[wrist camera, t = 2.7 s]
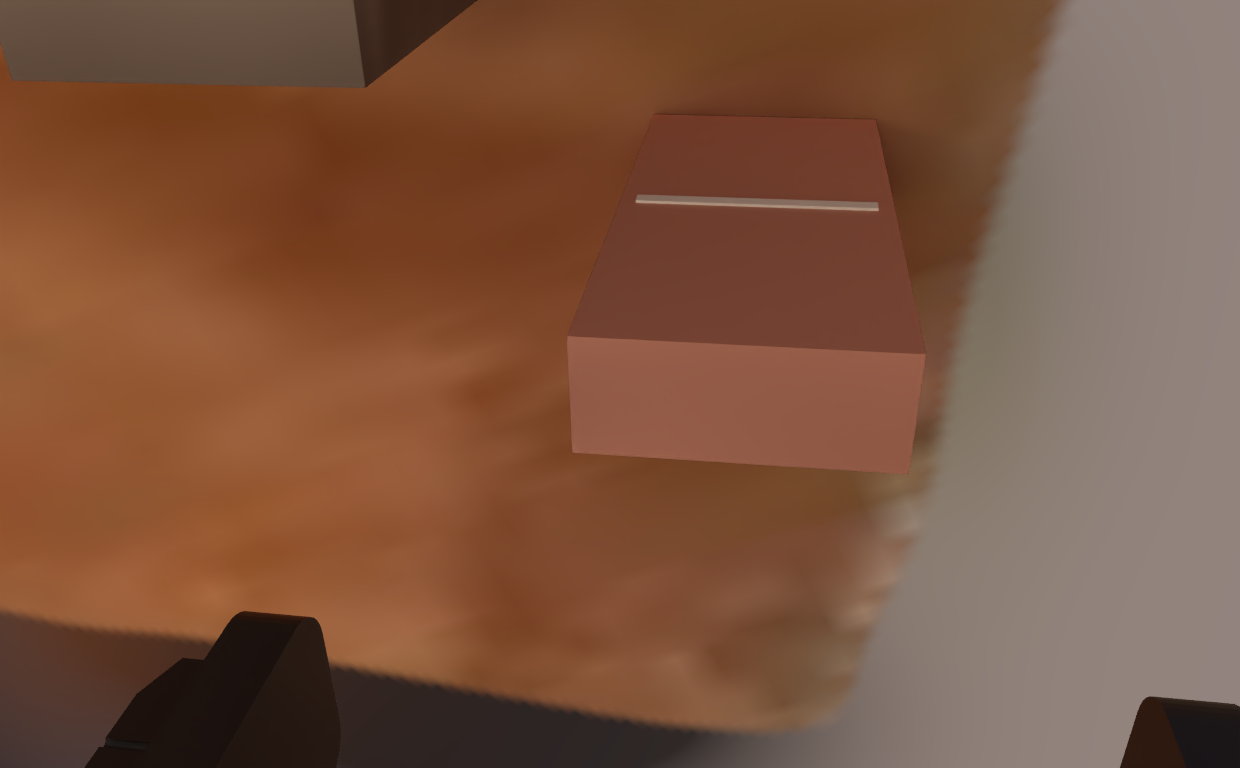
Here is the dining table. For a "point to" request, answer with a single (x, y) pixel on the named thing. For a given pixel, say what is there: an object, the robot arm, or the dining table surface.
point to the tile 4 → (216, 40)
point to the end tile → (751, 302)
